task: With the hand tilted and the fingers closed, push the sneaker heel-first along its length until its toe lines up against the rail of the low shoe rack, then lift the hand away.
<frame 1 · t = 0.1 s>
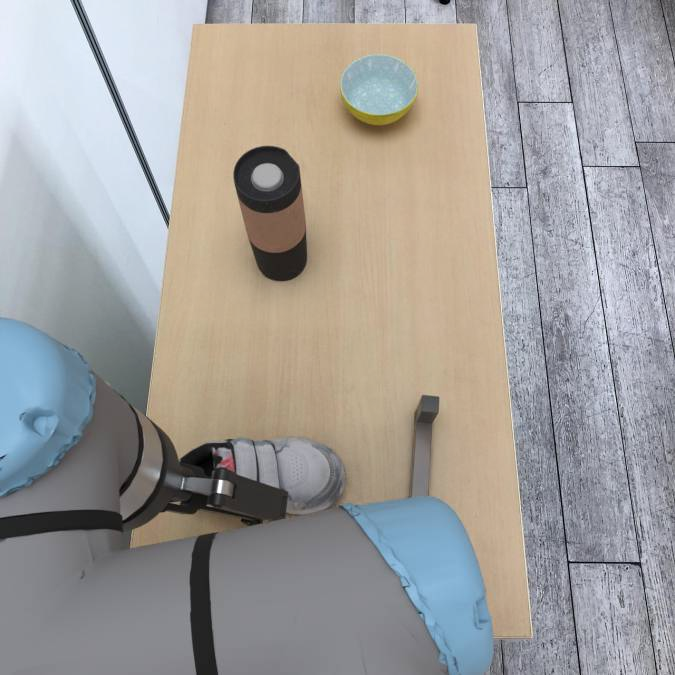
hand: (184, 505, 58), 19 cm above the table, tool pointing down, fingers open, 13 cm apart
travel mug: (282, 259, 89), on the table
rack: (417, 492, 77), on the table
bowl: (376, 113, 98), on the table
sneaker: (265, 480, 77), on the table
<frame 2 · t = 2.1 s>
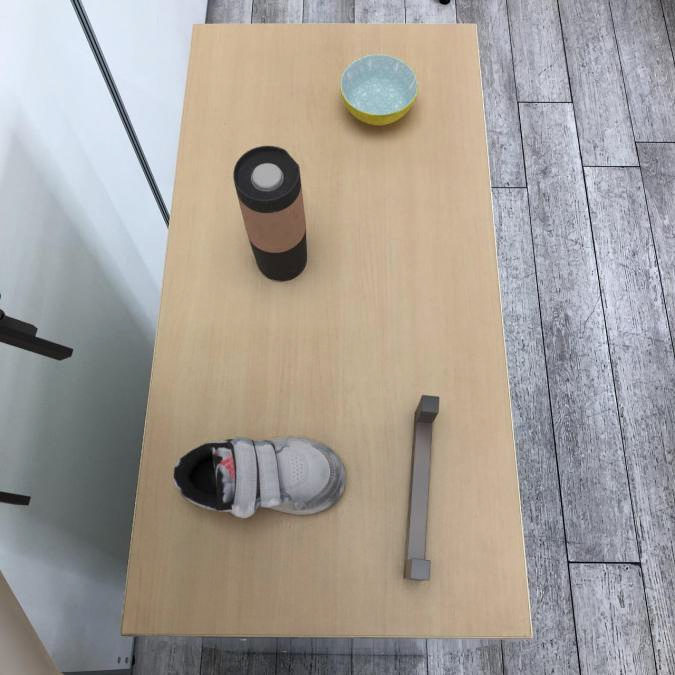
hand: (46, 425, 57), 22 cm above the table, tool tilted 45°, fingers open, 13 cm apart
nothing on the table moved.
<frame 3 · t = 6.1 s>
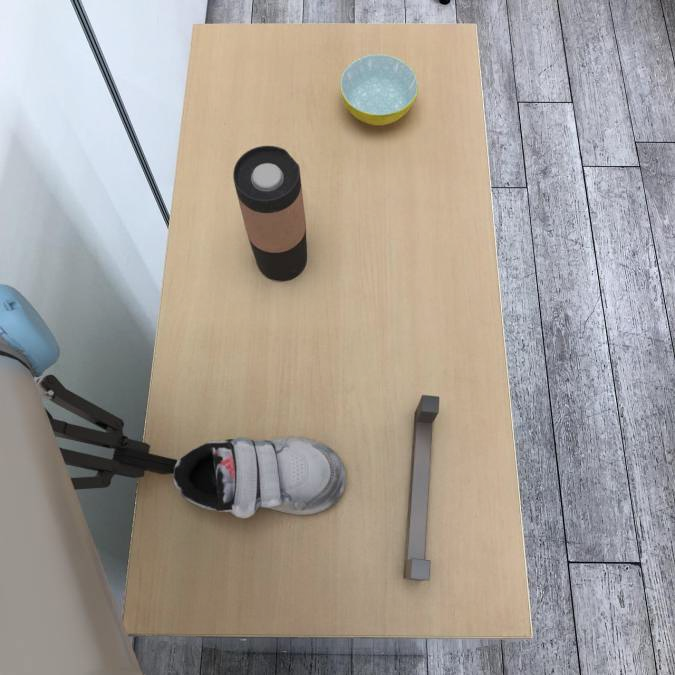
hand: (169, 467, 73), 4 cm above the table, tool tilted 45°, fingers closed
sneaker: (265, 480, 77), on the table, touching gripper
everything else where it was.
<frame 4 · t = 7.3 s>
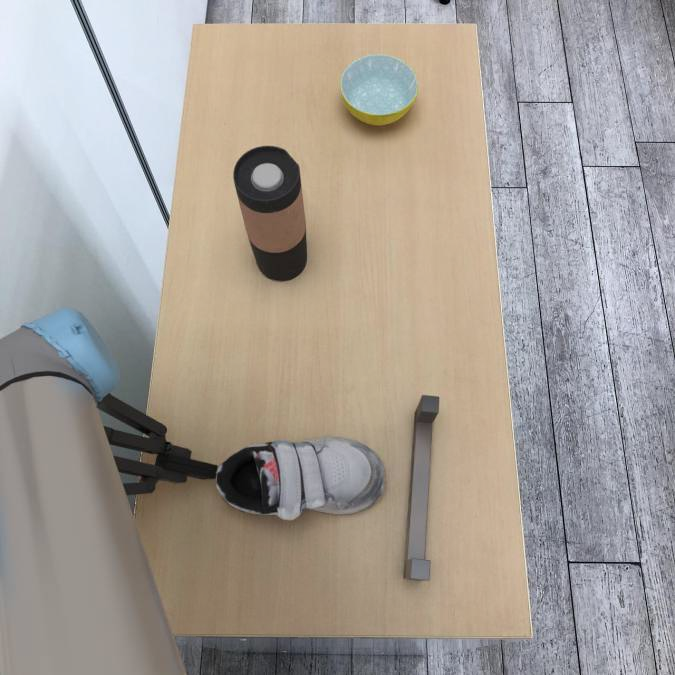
hand: (210, 472, 74), 4 cm above the table, tool tilted 45°, fingers closed
sneaker: (304, 482, 77), on the table, touching gripper
everything else where it was.
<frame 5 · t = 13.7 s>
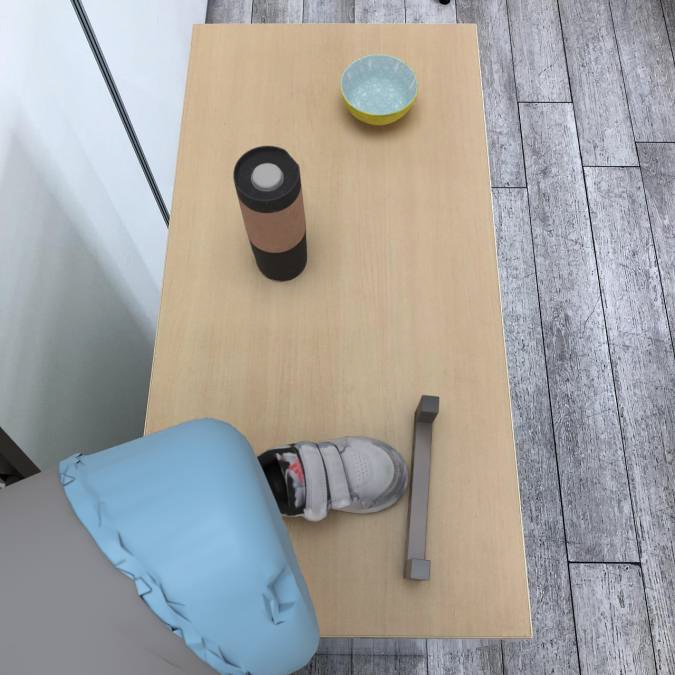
hand: (56, 531, 50), 26 cm above the table, tool pointing down, fingers closed
sneaker: (326, 482, 77), on the table
everything else where it was.
at the end: sneaker inside the target area on the table beside the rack (1.3 cm from its centre), on the table; sneaker tilted 0°; bowl moved 0.2 cm from its start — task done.
